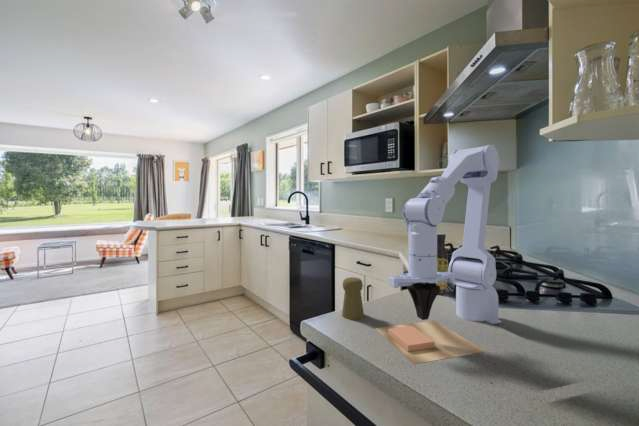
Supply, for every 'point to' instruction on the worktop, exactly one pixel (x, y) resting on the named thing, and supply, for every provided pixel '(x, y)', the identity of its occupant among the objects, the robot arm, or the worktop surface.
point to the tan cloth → (444, 339)
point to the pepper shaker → (352, 299)
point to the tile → (411, 338)
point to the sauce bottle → (442, 260)
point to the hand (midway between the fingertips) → (422, 317)
